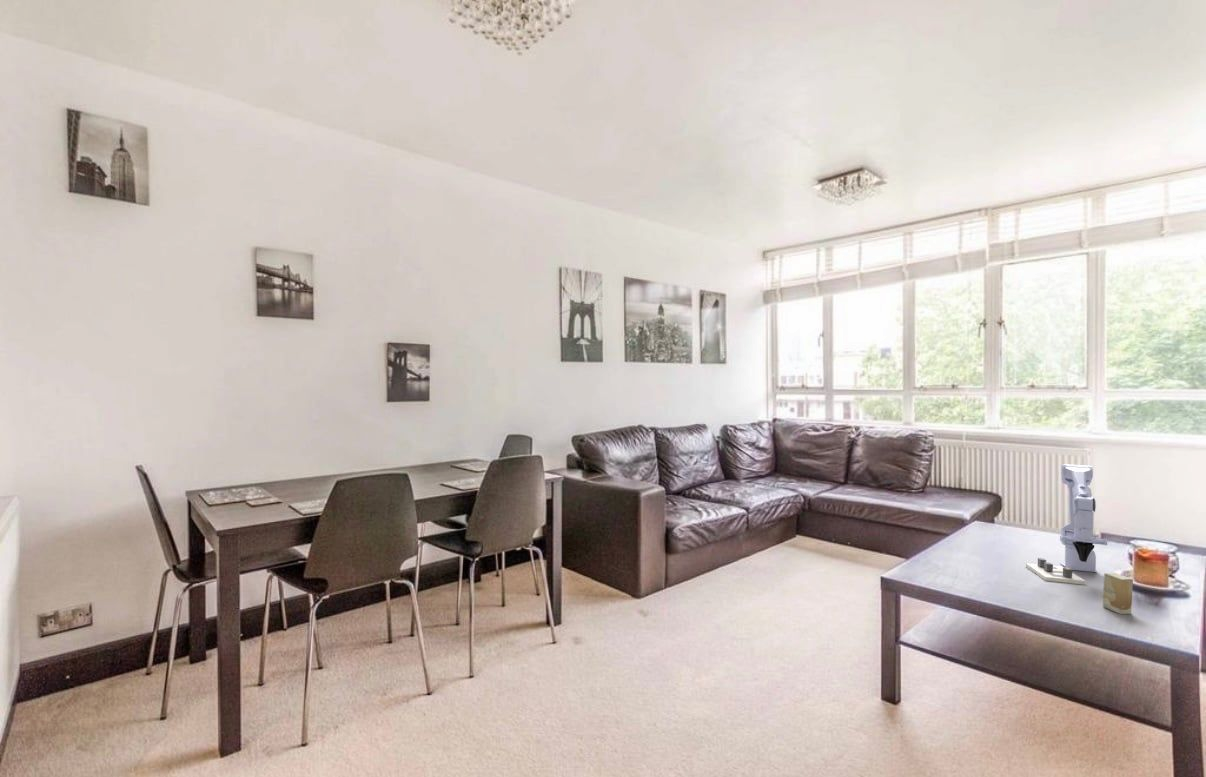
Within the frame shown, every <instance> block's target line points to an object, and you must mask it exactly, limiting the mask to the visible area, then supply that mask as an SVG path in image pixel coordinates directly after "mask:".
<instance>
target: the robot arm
mask: <svg viewBox="0 0 1206 777" xmlns="http://www.w3.org/2000/svg"><path fill="white" fill-rule="evenodd" d="M1060 469H1061V481H1062V483H1063V484H1064V485H1066V486H1067V488H1068V495H1069V496H1068V498H1069V500H1068V501H1069V502H1068V503H1069V505H1068V506H1069V509H1068V510H1069V522H1068V523H1067V524H1065V525H1063V526H1062V527H1061V528H1060V529H1061V532H1060V535H1059V541H1060V543H1061V544H1062V545H1064V546H1065V547H1064V562H1060V563H1059V564H1060V565H1061V566H1062V567H1064V568H1070V569H1071V570H1072V571H1080V572H1081V571H1082V572H1093V573H1097V572H1098V571H1097V570H1096V568H1097V554H1096V553H1095V550H1094V549H1095V545H1104V546H1108V540H1107V539H1104V538H1097V537H1094V516H1095V515H1094V513H1095V512H1096V510H1097V502H1096V499H1095V497H1094V496H1093V495H1092V490H1091V488H1090V485H1091V483H1092V480H1093V476H1094V471H1093V470H1094V469H1093V466H1091V465H1082V464H1081V465H1080V464H1069V463H1068V464H1067V463H1063V464H1062V465H1061V468H1060Z"/></svg>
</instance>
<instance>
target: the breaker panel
mask: <svg viewBox="0 0 1206 777" xmlns="http://www.w3.org/2000/svg"><path fill="white" fill-rule="evenodd" d="M1025 567H1026V568H1027V570H1028V569H1029V570H1030V571H1031V572H1032V573H1033V574H1035V573H1036V575H1037V576H1038V577H1040V578H1041V579H1042V578H1043V579H1042V580H1044V581H1046V582H1056V583H1066V584H1077V585H1086V580H1085V579H1083V578H1081V577H1080V576H1079V575H1077V574H1075V573H1074V572H1072V578H1070V577H1065V576H1064V575H1063V568H1065V566H1062V565H1061V566H1058V565H1054V564H1053V563H1051V562H1047V560H1046V559H1045V558H1040V557H1037V563H1025Z"/></svg>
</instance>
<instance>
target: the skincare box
mask: <svg viewBox="0 0 1206 777" xmlns="http://www.w3.org/2000/svg"><path fill="white" fill-rule="evenodd" d="M1133 587H1134V579H1133V578H1130V577H1127V576H1125V575H1122V574H1119V573H1116V572H1104V578H1103V595H1102V607H1103V608H1106V609H1108V610H1110V611H1112V612H1115V613H1117V614H1119V615H1131V614H1132V608H1133V607H1132V603H1133Z"/></svg>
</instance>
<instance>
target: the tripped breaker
mask: <svg viewBox="0 0 1206 777" xmlns="http://www.w3.org/2000/svg"><path fill="white" fill-rule="evenodd" d="M1072 573H1073V570H1071V569H1070V568H1066V567H1064V568H1063V575H1064V576H1065V577H1070V578H1072Z"/></svg>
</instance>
